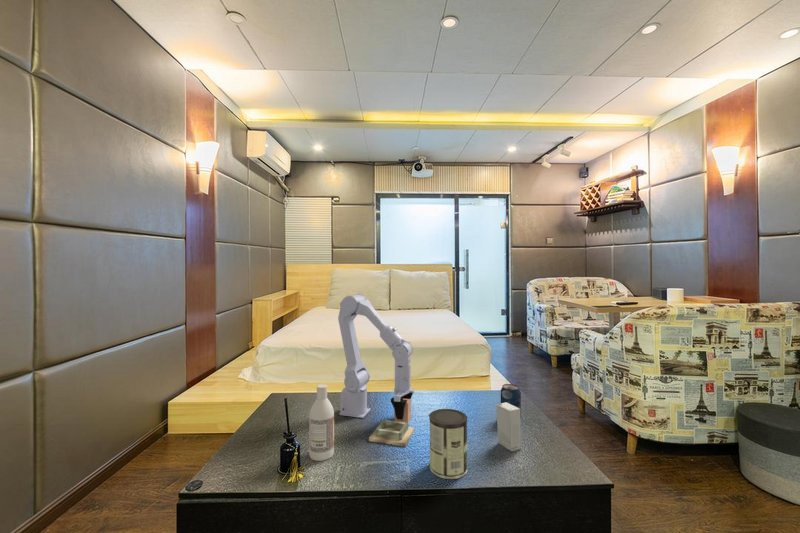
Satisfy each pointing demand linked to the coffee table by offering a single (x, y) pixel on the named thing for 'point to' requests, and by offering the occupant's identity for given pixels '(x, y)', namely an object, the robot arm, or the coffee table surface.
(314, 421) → the bath foam
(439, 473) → the coffee can
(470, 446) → the coffee table surface
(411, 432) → the socket stand
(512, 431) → the skincare box
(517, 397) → the soda can
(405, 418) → the keyed peg
